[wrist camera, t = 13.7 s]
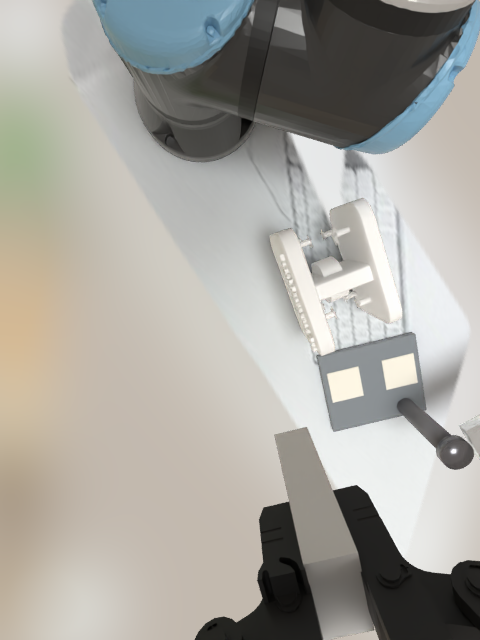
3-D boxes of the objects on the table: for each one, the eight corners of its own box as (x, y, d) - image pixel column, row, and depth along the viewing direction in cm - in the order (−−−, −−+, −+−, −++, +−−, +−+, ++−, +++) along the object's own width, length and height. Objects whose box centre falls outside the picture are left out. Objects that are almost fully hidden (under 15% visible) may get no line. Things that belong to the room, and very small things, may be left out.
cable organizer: (369, 309, 50) (410, 329, 39) (299, 336, 51) (319, 363, 39) (337, 206, 47) (371, 194, 36) (263, 236, 47) (272, 233, 36)
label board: (316, 355, 51) (341, 388, 39) (411, 332, 51) (465, 359, 39) (332, 428, 54) (360, 480, 42) (422, 406, 53) (476, 453, 42)
